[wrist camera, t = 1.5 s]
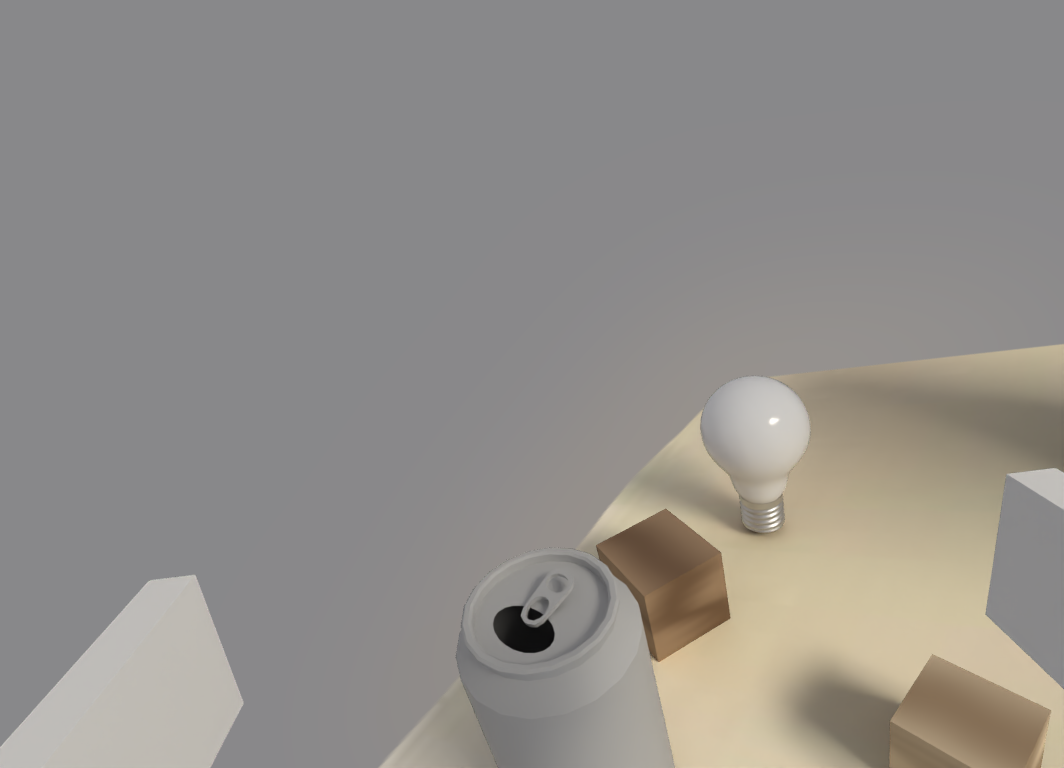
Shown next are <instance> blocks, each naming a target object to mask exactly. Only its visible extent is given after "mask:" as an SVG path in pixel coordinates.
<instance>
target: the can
mask: <svg viewBox="0 0 1064 768" xmlns="http://www.w3.org/2000/svg"><path fill="white" fill-rule="evenodd" d="M456 659H457V664H458V668H459V673H460V677H461V681H462V683H463V686H464V688H465V690H466V693H467V695H468V698H469V700H470V702H471V705H472V707H473V709H474V712H475V714H476V717H477V719H478V721H479V724H480V726H481V728H482V731H483V733H484V736H485V738H486V740H487V743H488V745H489V747H490V750H491V752H492V755H493V757H494V759H495V762H496V764H497V766H498V768H675V765H674V760H673V755H672V750H671V746H670V741H669V737H668V733H667V728H666V724H665V719H664V715H663V710H662V706H661V702H660V697H659V693H658V688H657V684H656V679H655V675H654V671H653V666H652V662H651V657H650V653H649V648H648V644H647V640H646V635H645V631H644V626H643V622H642V617H641V613H640V609H639V604H638V602H637V601H636V599H635V598H634V596H633V595H632V593H631V592H630V590H629V589H628V587H627V585H626V584H624V583H623V582H622V581H620V580H619V579H617V578H616V577H615V576H613V574H612V573H611V571H610V570H609V568H608V567H607V565H605V564H604V563H603V562H601V561H600V560H598V559H597V558H596V557H594V556H593V555H591V554H588V553H585V552H582V551H578V550H575V549H571V548H544V549H539V550H534V551H528V552H526V553H523V554H521V555H518V556H516V557H513V558H511V559H508V560H507V561H505V562H504V563H502V564H501V565H499V566H498V567H496V568H495V569H493V570H492V571H490V572H489V573H488V574H487V575H486V576H485V577H484V578H483V579H482V580H481V581H480V582H479V584H478V585H477V586H476V587H475V588H474V589H473V591H472V593H471V595H470V596H469V599H468V600H467V602H466V604H465V606H464V609H463V616H462V622H461V632H460V634H459V640H458V647H457V653H456Z"/></svg>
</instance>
